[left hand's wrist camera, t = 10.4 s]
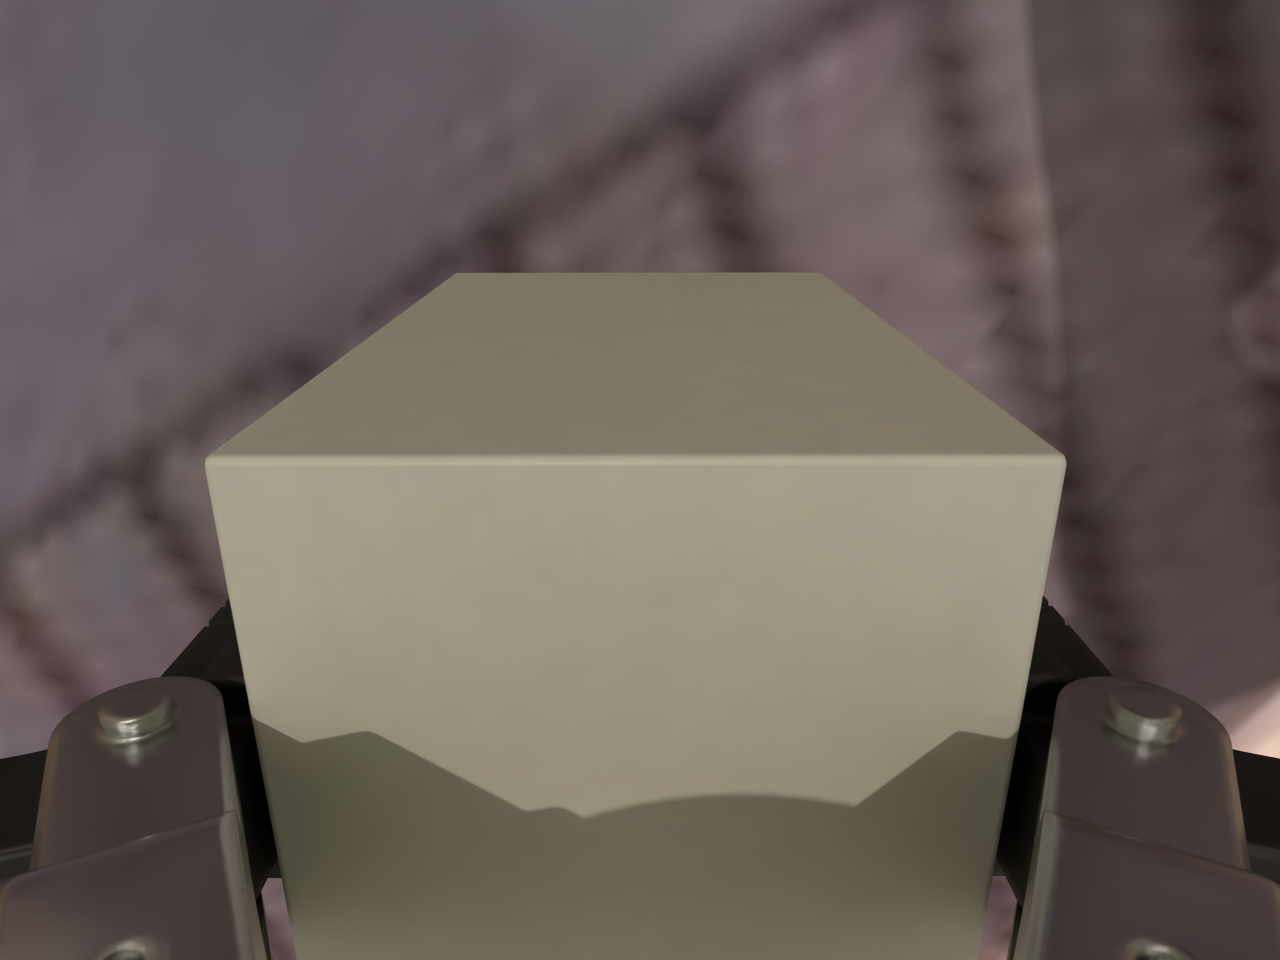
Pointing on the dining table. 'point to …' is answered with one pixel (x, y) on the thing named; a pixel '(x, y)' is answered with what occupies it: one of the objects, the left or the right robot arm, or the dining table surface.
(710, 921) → the box
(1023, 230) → the dining table surface
